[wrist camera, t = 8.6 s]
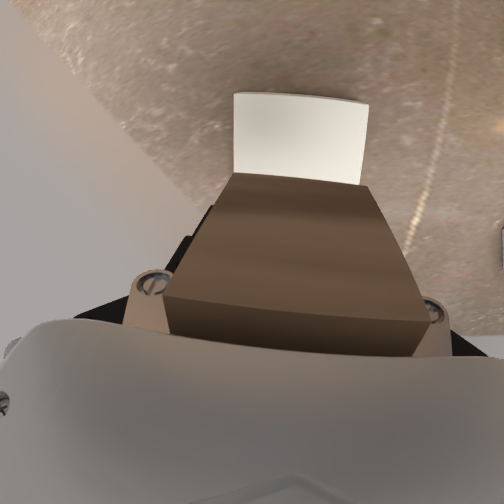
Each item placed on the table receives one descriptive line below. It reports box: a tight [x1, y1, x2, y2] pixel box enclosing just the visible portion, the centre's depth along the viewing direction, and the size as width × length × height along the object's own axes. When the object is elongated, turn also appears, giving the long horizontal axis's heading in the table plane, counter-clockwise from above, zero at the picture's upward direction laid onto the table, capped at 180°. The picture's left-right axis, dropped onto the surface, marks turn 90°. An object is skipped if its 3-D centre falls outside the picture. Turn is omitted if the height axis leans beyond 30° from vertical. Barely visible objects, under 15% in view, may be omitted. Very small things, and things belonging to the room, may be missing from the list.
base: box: [234, 92, 369, 185], centre depth 29 cm, size 12×12×4 cm
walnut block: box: [162, 172, 432, 357], centre depth 9 cm, size 5×5×7 cm
